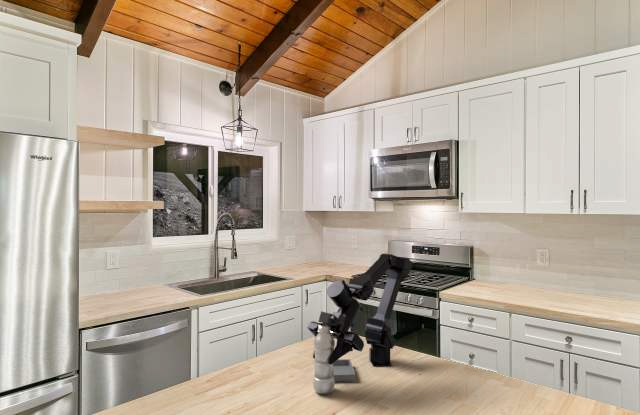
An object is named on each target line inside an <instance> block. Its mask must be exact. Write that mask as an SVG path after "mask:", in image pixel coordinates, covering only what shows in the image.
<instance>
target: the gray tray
mask: <svg viewBox="0 0 640 415" xmlns="http://www.w3.org/2000/svg"><path fill="white" fill-rule="evenodd" d="M354 369H355V368H354V366H353V363H352V361H351V359H349V358H347V359H344V358H343V359H340V358H339V359H338V360H336V361H335V362H334V363H333V375H334V380H335V383H356V379H357V377H356V375H357V374H356V372H355V370H354Z"/></svg>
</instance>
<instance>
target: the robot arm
mask: <svg viewBox="0 0 640 415" xmlns="http://www.w3.org/2000/svg"><path fill="white" fill-rule="evenodd" d="M412 267H413V263H412V261H411V260H410V258H409V257H405V256H397V255H394V254H393V253H381V254H379V257H378V258H377V260H376V261H375V262H374V263H373V264H372V265H371V266H370V267H368V268H367V270H366V271H365V272H364V273H363V274H362V275H358V276H356V277H354V278H353V279H351V280H350V281H349V282H347V283H346V281H345V279H341V278H338V279H337V281H335V282H331V284H330V285H328V287H327V288H326V295H327V297H329V299H330V300H331V301H332V303H333V304H334V305H335V306H336V307H337V308H338V309H337V312H335V311H333V312H332V313H329V312H326V311H320V313H319V317H318V322H317V321H313V320H312V321H310V322H309V323H308V325H307V330H308V331H309V332H310V333H311V334H312V335H313V337H314V338H315V337H316V336H317V334H318V333H319V332H318V324H320V323H326V324H329V325H330V329H331V331H330V334H331V335H332V337H333V338H334V340H336V344H335V346H334V351H333V353H332V355H331V357H330V359H329V362H328V363H329V364H330V365H331V364H333V363H334V362H335V361H336V360H338V359H340V358H342V357H344V356H345V355H347V354H348V353H349V352H353V351H357V352H363V349H364V347H365V341H364V340H363V339H362V338H361V336H359V334H358V333H356V332H352V331H349V330H350V328H352V329H353V328H354V326H355V324H354V323H353V322H354V320H355V319H356V317H357V314H358V312H362V313H363V312H364V308H363V303H362V302H359V301H358V300H360V301H368V300H369V299H370V297H371V296H372V294H373V293H374V289H375V285H376V284H377V282H378V281H380V279H381V278H382V277H383V276H384V275H385V274H386V273H387V280H386V282H385V286H384V289H383V292H382V296H381V299H380V300H379V301H380V302H379V303H378V304H379V305H378V308H377V311H376V314H375V315H374V316H373V317H368V319H367V323H366V325H365V326H364V337H365V340H366V344H368V345H370V348H369V349H368V350H369V351H368V358H369V359H368V360H369V362H370V363H371V365H372V366H373V367H392V366H393V364H392V362H391V350H392V349H393V348H394V347H395V345H396V339H395V338H394V336H393V335H392V334H391V333H392V326H391V322H390V320H391V316H392V313H393V310H394V308H395V307H394V306H395V304H396V300H397V298H398V293H399V291H400V288H401V285H402V283H403V281H404V280H406V279H407V278H408V277H409V275H410V272H411V271H412ZM312 358H313V359H314V360H315V352H314V351H313V354H312Z"/></svg>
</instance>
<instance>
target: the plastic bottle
mask: <svg viewBox="0 0 640 415" xmlns="http://www.w3.org/2000/svg"><path fill="white" fill-rule="evenodd" d="M319 323H320V324H318V332H319V333H318V334H317V336H316V337H315V336H314V339H313V344H312V345H313V353H314V352H315V359H314V376H313V379H312V385H313V389H314V391H315V393H318V394H319V395H328V394H330V393H332V392H333V390H334V389H335V386H336V382H335V380H334V375H333V364H331V365H330V364H329V363H328V362H329V359H330V357H331V355H332V353H333V351H334V349H335V347H336V342H335V338H333V337H332V335H331V334H330V331H331V329H330V325H329V324H326V323H323V322H319Z"/></svg>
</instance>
